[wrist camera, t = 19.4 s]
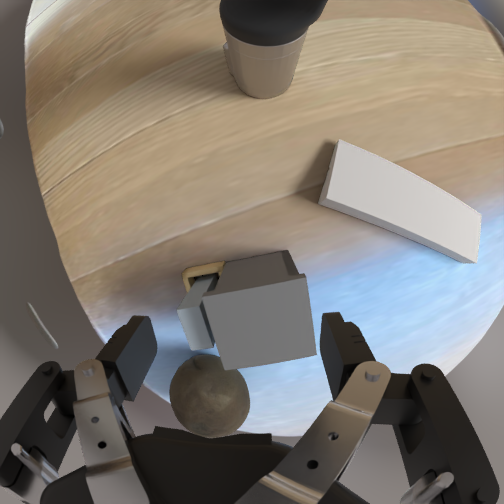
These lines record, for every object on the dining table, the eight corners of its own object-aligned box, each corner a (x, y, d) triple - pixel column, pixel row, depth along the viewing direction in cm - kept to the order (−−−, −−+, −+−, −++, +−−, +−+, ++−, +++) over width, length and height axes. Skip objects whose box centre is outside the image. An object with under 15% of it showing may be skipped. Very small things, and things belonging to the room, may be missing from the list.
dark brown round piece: (174, 381, 50) (152, 432, 35) (191, 329, 47) (167, 381, 32) (237, 403, 50) (232, 458, 36) (264, 355, 47) (265, 412, 33)
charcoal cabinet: (289, 246, 43) (306, 277, 28) (300, 306, 45) (317, 358, 30) (186, 267, 44) (152, 304, 29) (202, 323, 46) (181, 377, 31)
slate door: (215, 273, 44) (199, 306, 31) (224, 306, 45) (213, 347, 33) (197, 277, 44) (174, 310, 32) (207, 309, 46) (190, 350, 33)
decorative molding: (329, 150, 42) (316, 205, 41) (339, 139, 37) (326, 198, 37) (466, 217, 43) (461, 263, 43) (481, 214, 38) (476, 263, 38)
